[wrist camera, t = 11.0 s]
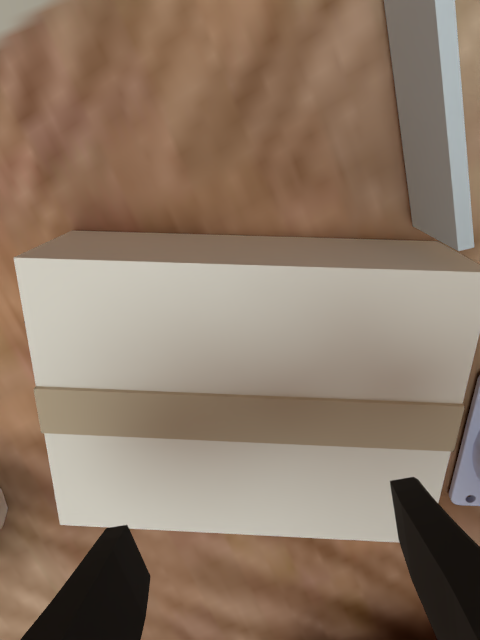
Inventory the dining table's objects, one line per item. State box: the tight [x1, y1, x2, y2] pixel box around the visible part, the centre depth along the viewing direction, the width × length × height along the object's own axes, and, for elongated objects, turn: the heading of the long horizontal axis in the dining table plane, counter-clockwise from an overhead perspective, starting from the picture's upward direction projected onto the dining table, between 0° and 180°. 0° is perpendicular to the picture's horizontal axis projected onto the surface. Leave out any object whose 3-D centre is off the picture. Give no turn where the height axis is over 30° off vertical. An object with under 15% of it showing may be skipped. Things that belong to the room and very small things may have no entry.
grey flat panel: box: [384, 0, 474, 251], centre depth 12 cm, size 14×1×9 cm, turn 15°
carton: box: [14, 230, 480, 542], centre depth 19 cm, size 16×12×5 cm
